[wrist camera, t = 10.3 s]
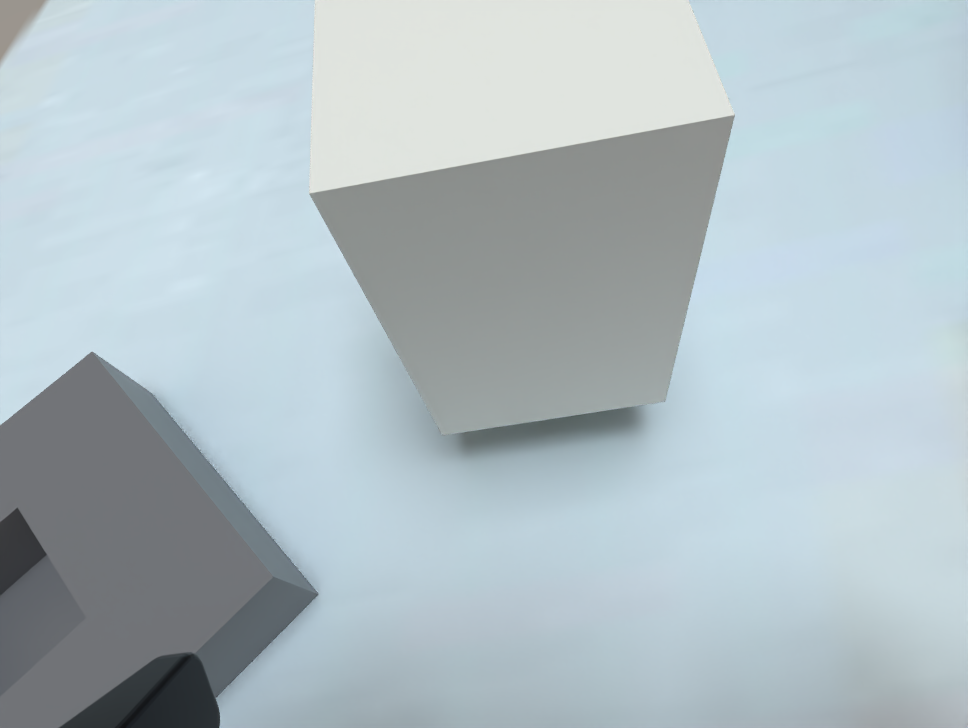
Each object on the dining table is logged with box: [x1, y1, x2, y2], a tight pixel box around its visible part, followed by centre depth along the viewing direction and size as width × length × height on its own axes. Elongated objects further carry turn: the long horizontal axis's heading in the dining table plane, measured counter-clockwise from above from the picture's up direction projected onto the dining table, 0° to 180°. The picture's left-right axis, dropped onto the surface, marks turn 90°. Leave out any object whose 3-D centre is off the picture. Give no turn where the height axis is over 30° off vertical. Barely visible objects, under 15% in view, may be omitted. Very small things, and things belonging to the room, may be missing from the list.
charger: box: [309, 0, 735, 435], centre depth 13 cm, size 5×5×10 cm
